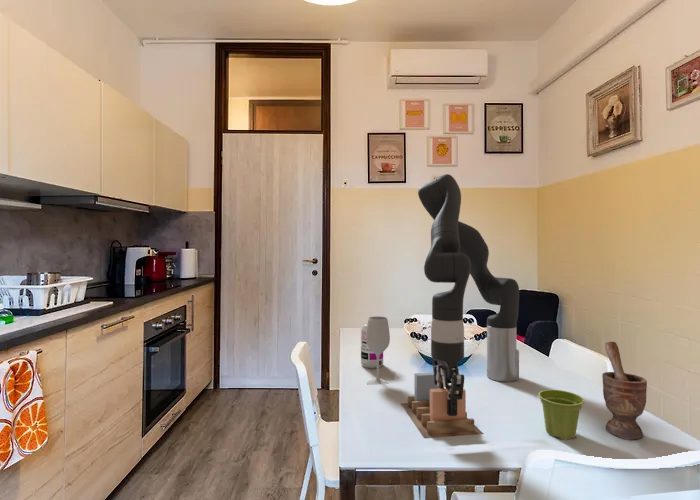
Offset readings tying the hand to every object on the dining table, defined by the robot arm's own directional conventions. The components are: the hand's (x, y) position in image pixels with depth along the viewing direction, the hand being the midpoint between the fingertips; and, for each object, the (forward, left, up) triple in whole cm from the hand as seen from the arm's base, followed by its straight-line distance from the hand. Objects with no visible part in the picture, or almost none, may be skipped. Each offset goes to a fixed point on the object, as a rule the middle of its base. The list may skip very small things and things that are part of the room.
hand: (447, 410), depth 95 cm
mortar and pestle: (-41, +4, -6) cm, 42 cm away
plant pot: (-26, +4, -6) cm, 27 cm away
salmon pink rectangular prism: (0, 0, -4) cm, 4 cm away
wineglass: (+9, -36, -6) cm, 38 cm away
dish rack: (0, -6, -5) cm, 8 cm away
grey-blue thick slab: (0, -12, -4) cm, 13 cm away
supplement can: (+7, -56, -6) cm, 57 cm away
